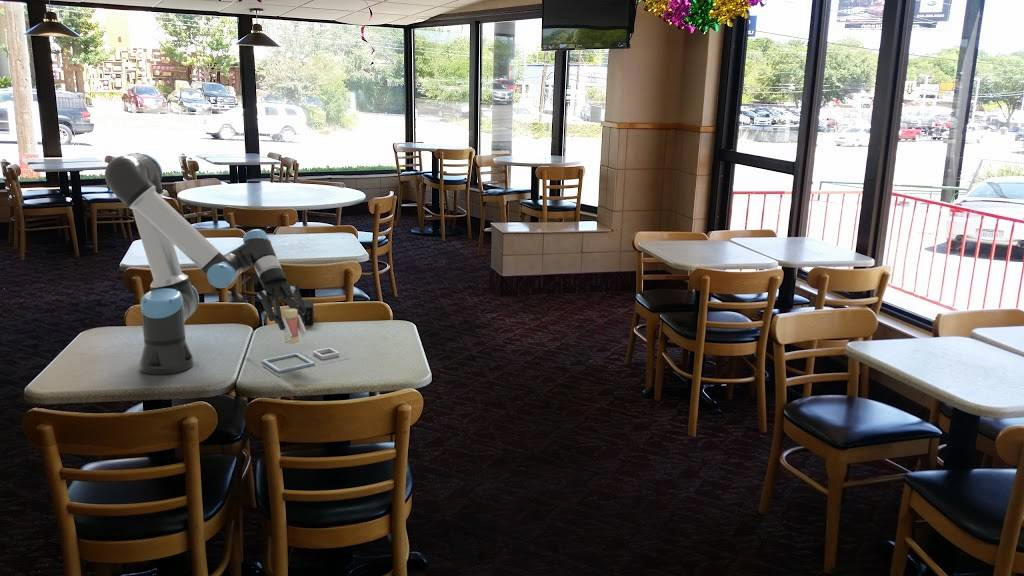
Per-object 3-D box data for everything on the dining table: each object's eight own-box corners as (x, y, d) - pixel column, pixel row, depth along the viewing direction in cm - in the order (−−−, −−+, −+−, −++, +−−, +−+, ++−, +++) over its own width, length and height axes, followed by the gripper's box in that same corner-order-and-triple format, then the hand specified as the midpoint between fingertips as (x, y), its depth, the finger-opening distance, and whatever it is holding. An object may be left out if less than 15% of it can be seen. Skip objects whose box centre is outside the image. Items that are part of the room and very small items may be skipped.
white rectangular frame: (322, 369, 246) (322, 360, 245) (301, 356, 256) (301, 349, 256) (351, 362, 253) (350, 354, 252) (329, 351, 263) (329, 343, 262)
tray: (278, 377, 238) (278, 370, 238) (262, 366, 247) (261, 360, 246) (314, 369, 246) (314, 362, 245) (297, 359, 254) (297, 352, 254)
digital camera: (299, 317, 299) (298, 300, 297) (313, 317, 300) (313, 299, 298) (297, 325, 289) (297, 307, 287) (313, 325, 290) (312, 307, 289)
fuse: (288, 344, 241) (286, 313, 239) (282, 341, 244) (280, 310, 242) (301, 341, 244) (299, 310, 241) (295, 338, 247) (293, 307, 245)
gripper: (292, 276, 257) (319, 337, 249) (241, 284, 246) (267, 347, 238) (299, 263, 252) (326, 324, 244) (246, 270, 241) (273, 335, 233)
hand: (297, 336), depth 241 cm, fingers closed on fuse, 4 cm apart
